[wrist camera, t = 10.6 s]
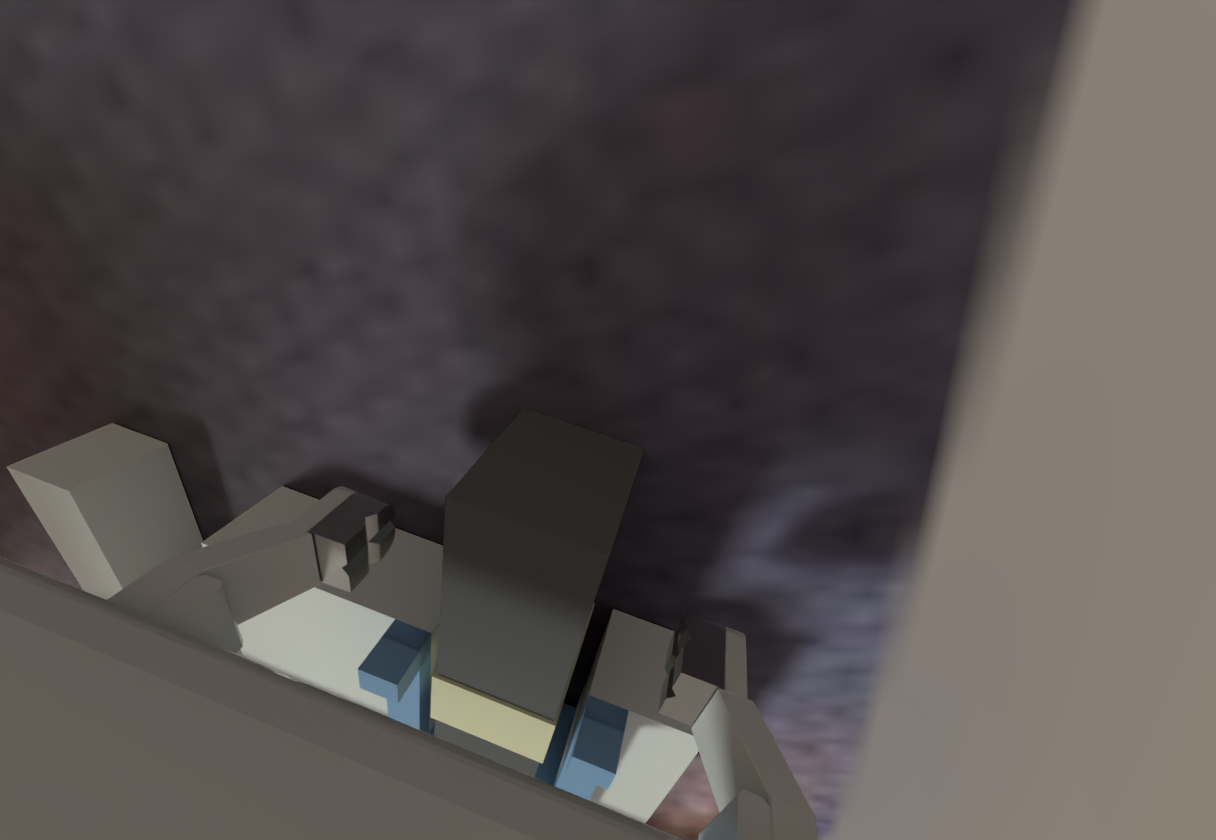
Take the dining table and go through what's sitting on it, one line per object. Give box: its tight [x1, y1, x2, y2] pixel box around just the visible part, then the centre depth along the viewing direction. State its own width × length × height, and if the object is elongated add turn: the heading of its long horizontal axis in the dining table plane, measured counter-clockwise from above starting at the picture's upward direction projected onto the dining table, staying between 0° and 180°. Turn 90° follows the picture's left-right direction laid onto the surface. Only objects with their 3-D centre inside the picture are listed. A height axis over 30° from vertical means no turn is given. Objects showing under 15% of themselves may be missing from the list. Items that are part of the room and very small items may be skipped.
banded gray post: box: [430, 408, 644, 777], centre depth 14 cm, size 12×4×4 cm, turn 167°
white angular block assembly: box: [6, 423, 699, 823], centre depth 17 cm, size 8×24×5 cm, turn 77°
